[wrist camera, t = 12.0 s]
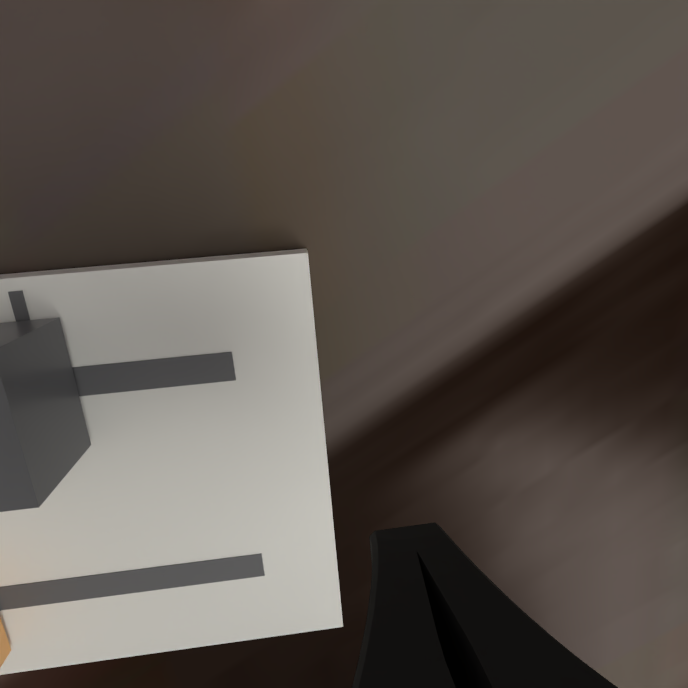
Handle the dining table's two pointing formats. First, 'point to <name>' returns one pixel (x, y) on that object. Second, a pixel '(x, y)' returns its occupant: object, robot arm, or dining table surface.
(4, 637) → the block
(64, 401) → the black fader
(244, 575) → the fader panel
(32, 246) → the dining table surface
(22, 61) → the dining table surface
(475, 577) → the robot arm
